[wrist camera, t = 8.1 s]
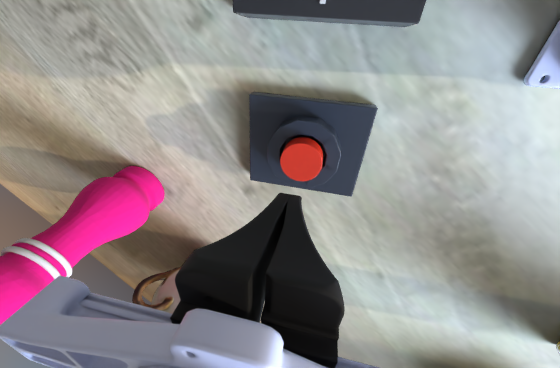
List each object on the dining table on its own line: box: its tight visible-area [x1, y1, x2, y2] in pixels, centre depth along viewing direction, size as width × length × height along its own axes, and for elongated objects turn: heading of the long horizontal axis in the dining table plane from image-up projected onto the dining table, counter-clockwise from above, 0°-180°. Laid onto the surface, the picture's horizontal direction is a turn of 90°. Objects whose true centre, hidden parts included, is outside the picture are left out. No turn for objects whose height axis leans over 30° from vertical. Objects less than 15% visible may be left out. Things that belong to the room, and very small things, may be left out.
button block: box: [249, 92, 378, 196], centre depth 21 cm, size 11×9×3 cm
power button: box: [280, 137, 323, 181], centre depth 19 cm, size 4×4×2 cm
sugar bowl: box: [132, 267, 181, 314], centre depth 31 cm, size 20×15×15 cm
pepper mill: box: [0, 166, 164, 325], centre depth 21 cm, size 7×7×20 cm
